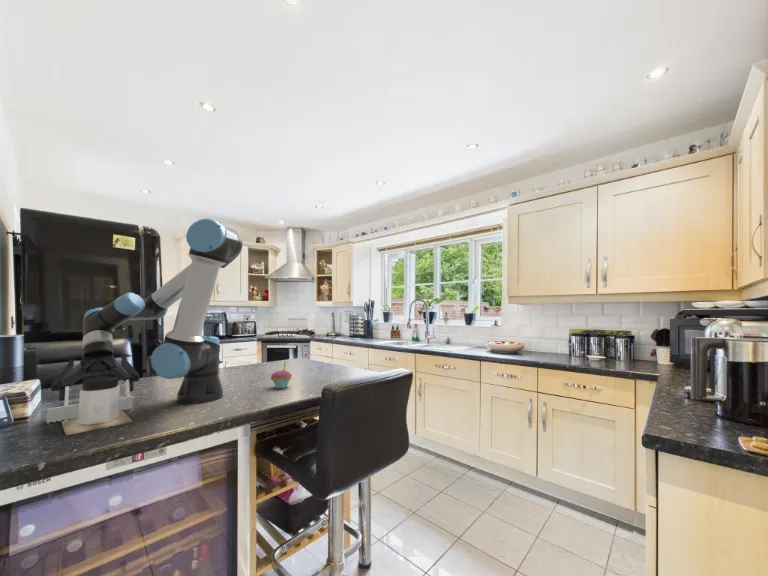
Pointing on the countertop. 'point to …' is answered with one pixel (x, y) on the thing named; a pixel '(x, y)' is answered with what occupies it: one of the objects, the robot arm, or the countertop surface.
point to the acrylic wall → (73, 411)
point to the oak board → (75, 427)
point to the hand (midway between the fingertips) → (98, 404)
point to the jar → (98, 400)
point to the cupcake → (281, 378)
